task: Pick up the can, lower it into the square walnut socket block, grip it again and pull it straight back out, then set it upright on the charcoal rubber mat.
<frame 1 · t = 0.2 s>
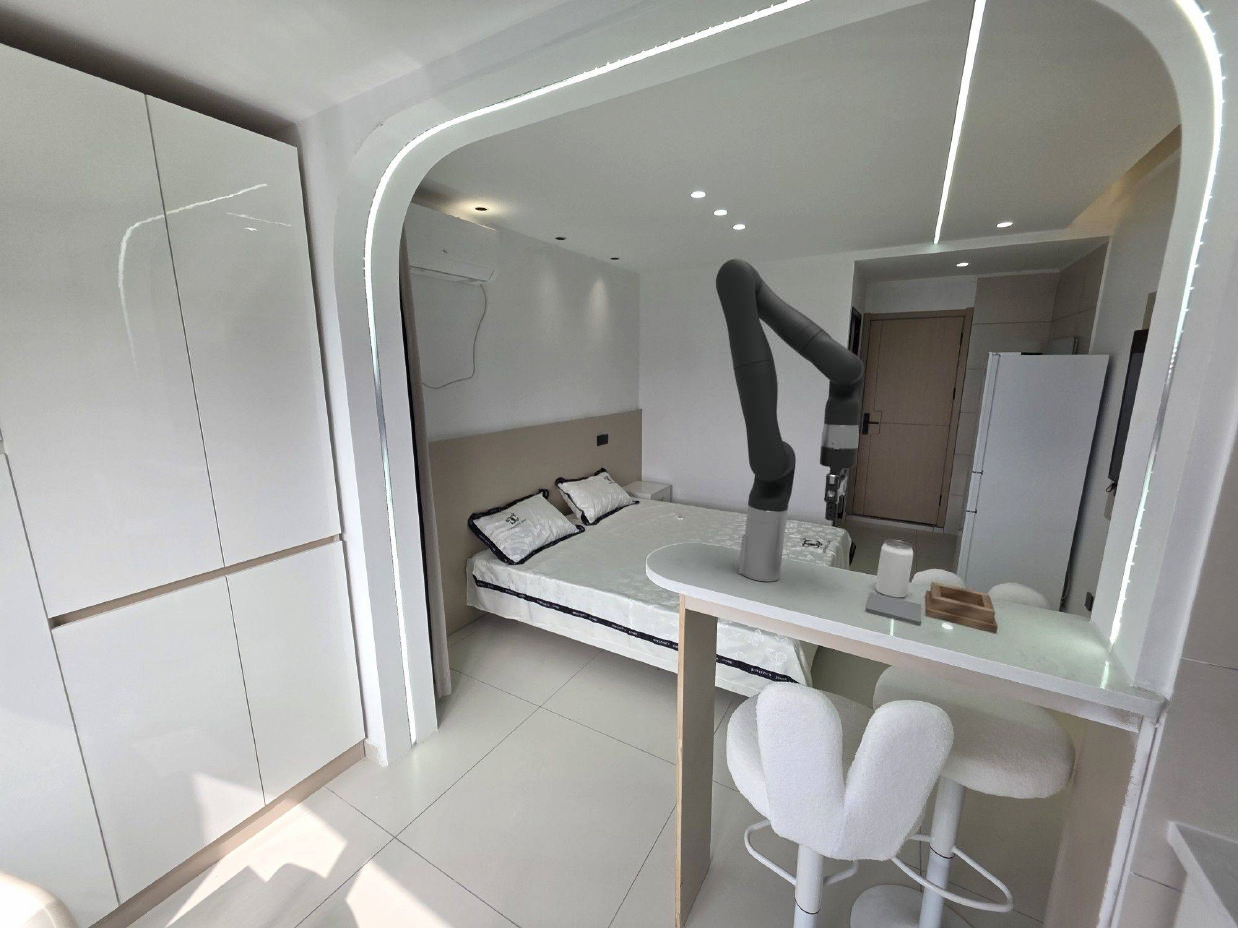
hand: (833, 516, 112), 18 cm above the table, tool pointing down, fingers open, 8 cm apart
mat: (893, 609, 106), on the table
can: (890, 593, 115), on the table
socket block: (958, 613, 106), on the table
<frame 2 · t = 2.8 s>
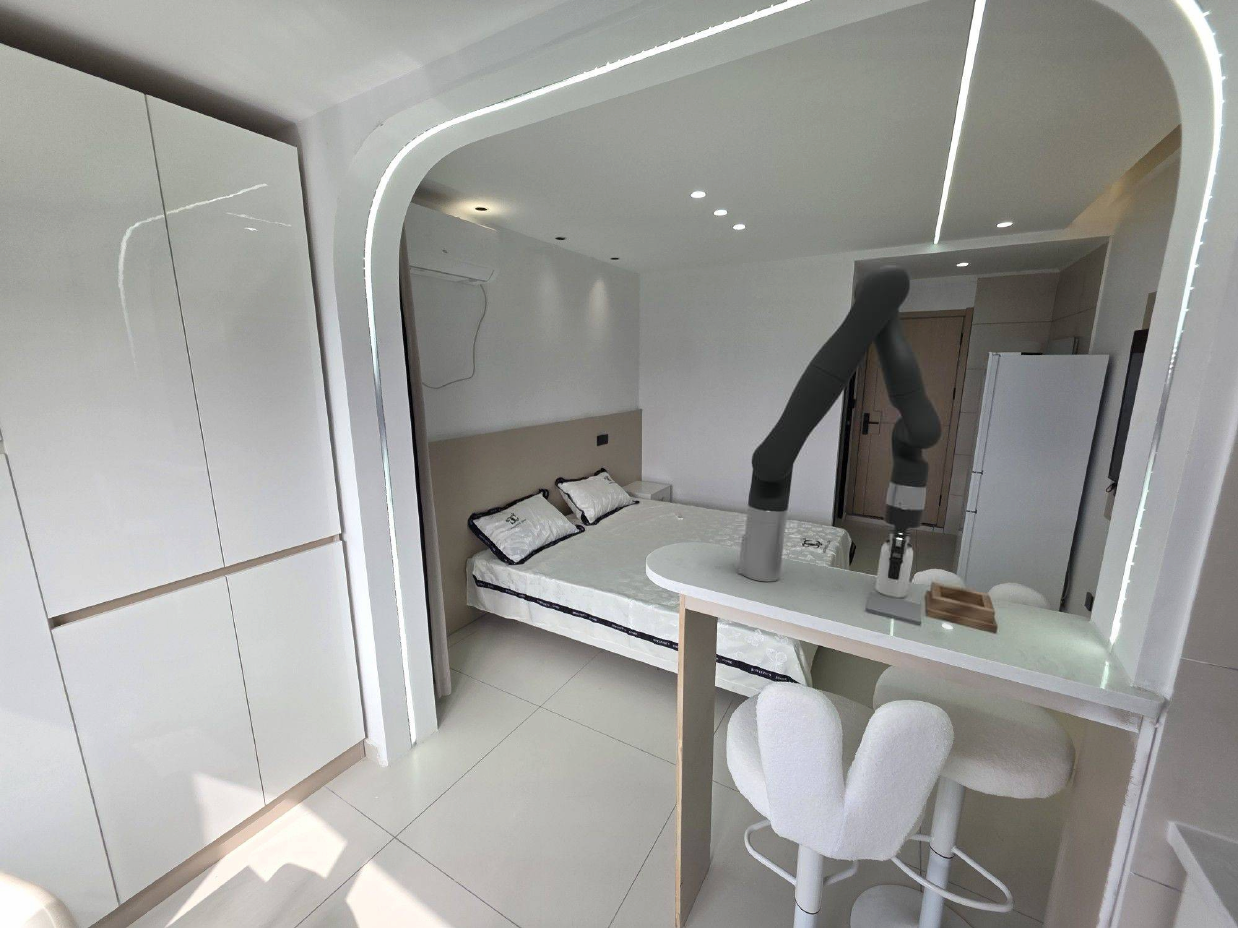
hand: (893, 573, 114), 5 cm above the table, tool pointing down, fingers closed on can, 6 cm apart
can: (890, 593, 115), on the table, touching gripper
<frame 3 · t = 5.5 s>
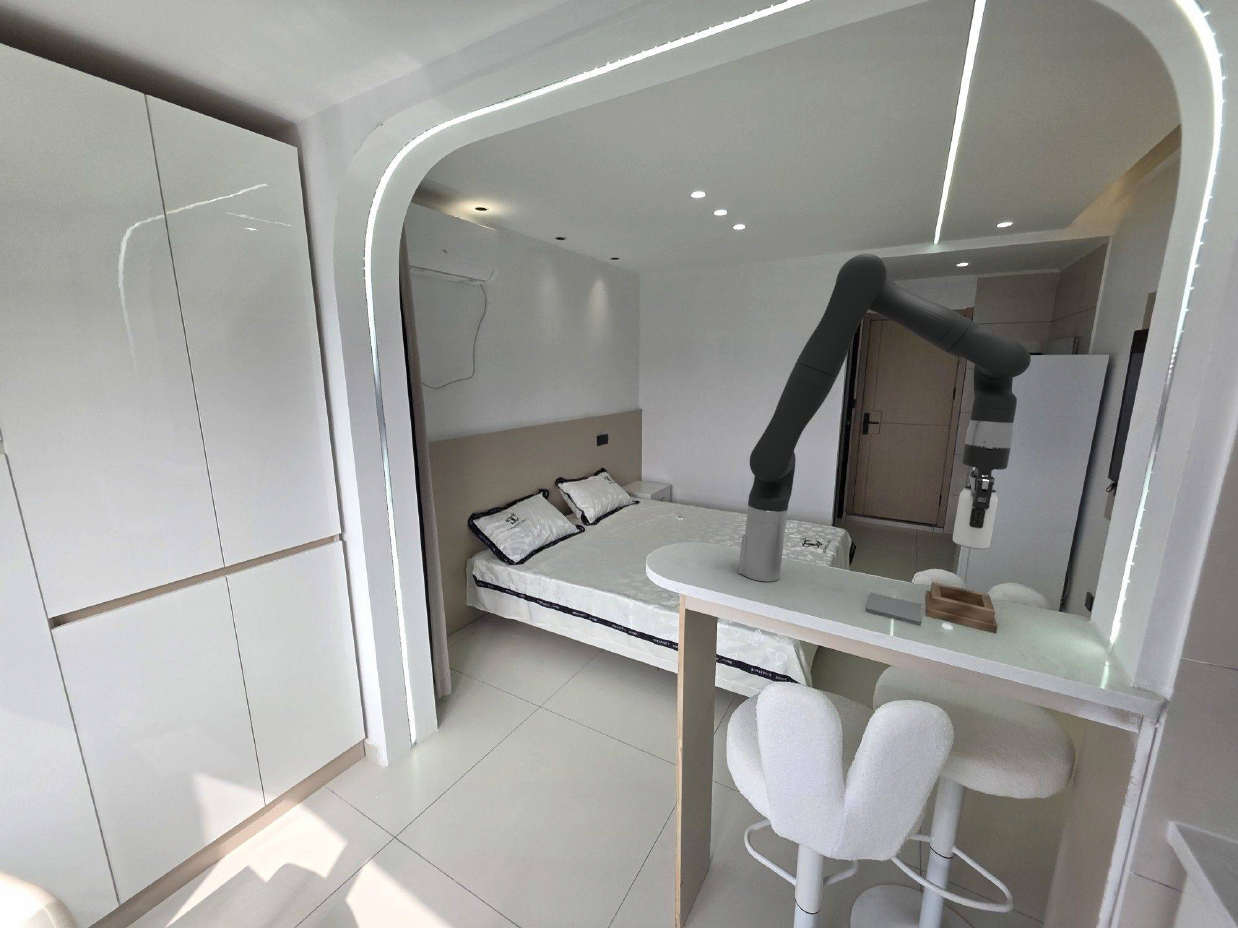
hand: (974, 523, 103), 20 cm above the table, tool pointing down, fingers closed on can, 6 cm apart
can: (970, 545, 104), point 15 cm above the table, touching gripper
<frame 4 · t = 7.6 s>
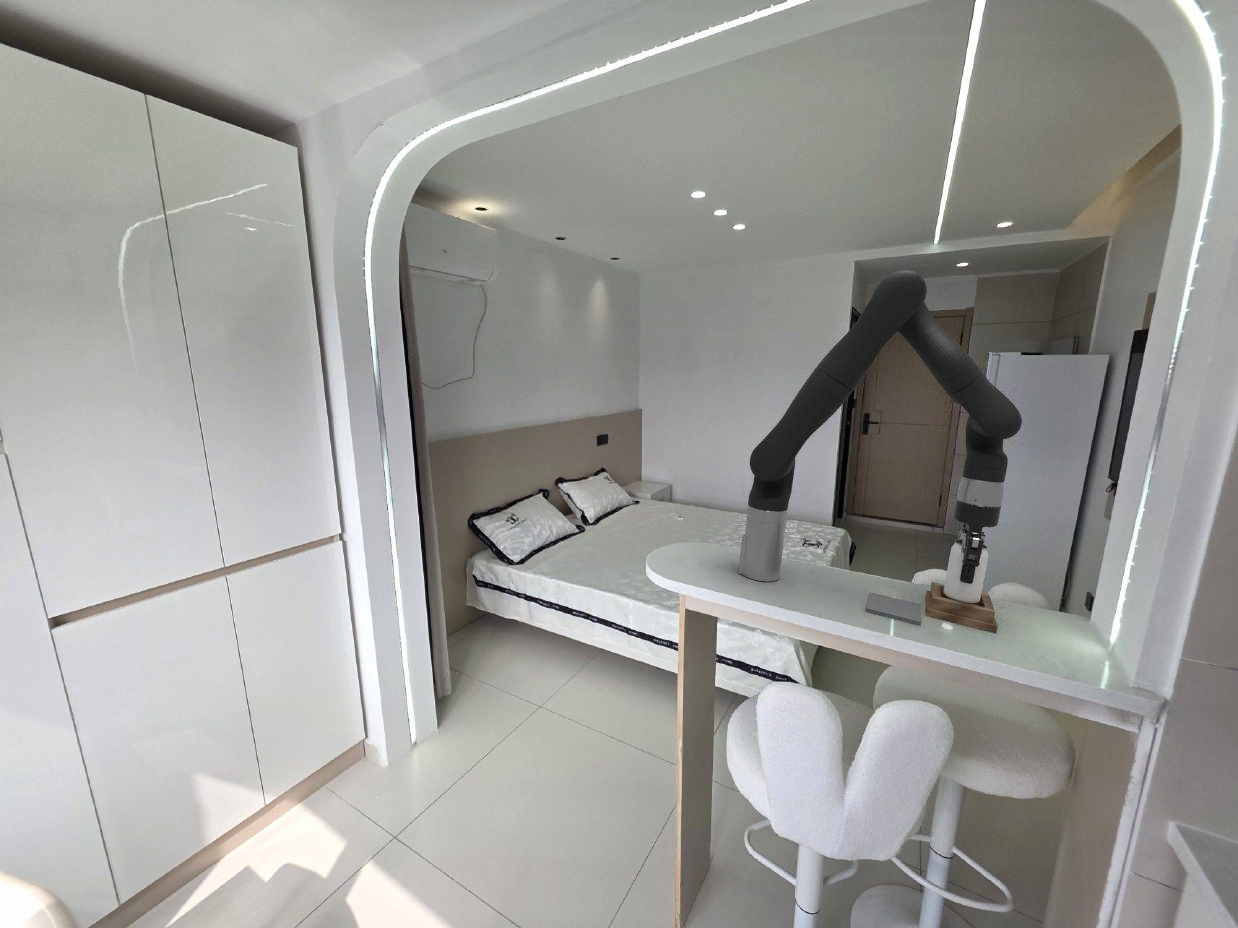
hand: (964, 577, 105), 8 cm above the table, tool pointing down, fingers closed on can, 6 cm apart
can: (960, 598, 106), point 3 cm above the table, touching gripper
when the fingers open (7 cm above the table, at t = 8.5 s): can stays where it is, resting on socket block.
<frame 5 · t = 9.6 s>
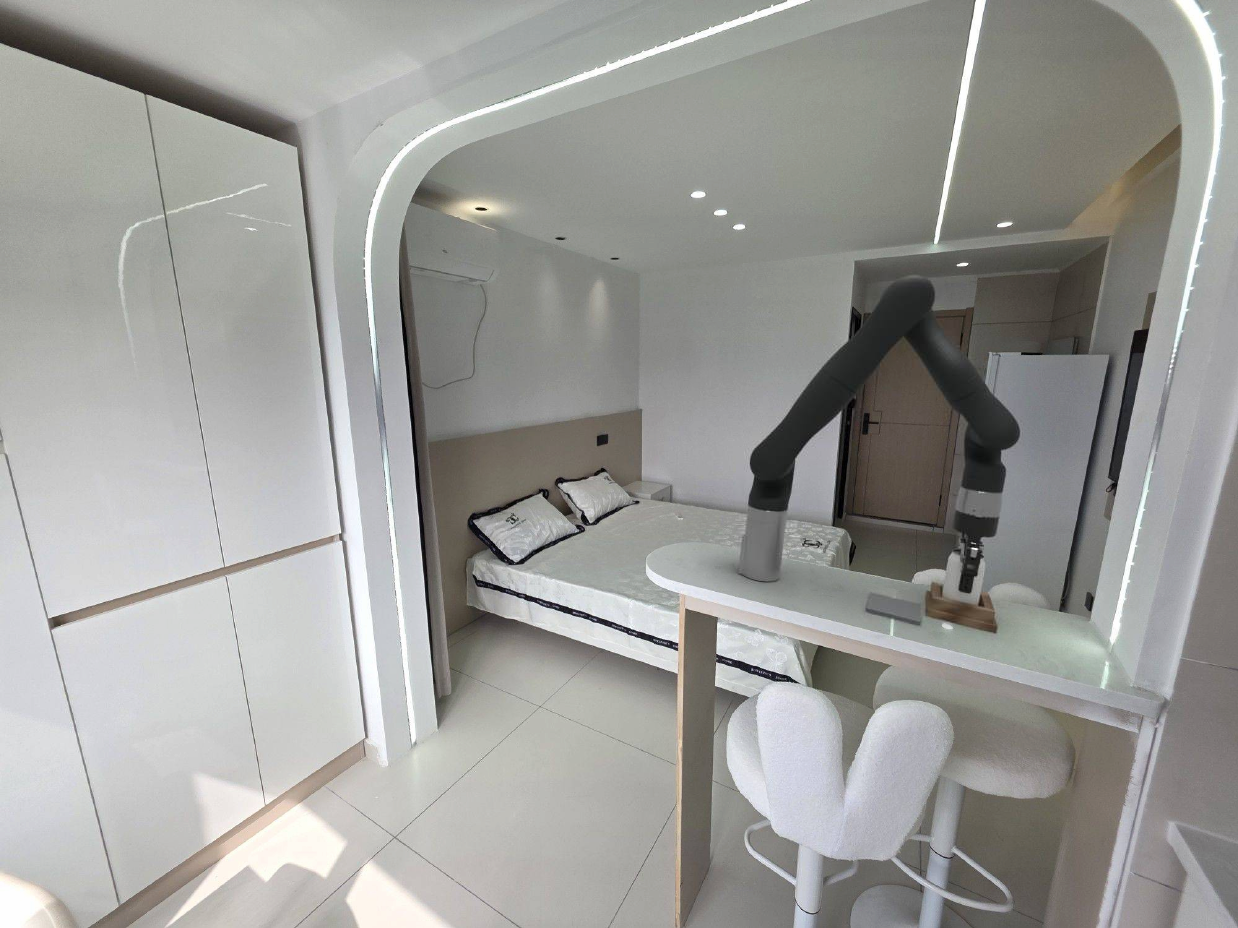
hand: (963, 586, 105), 6 cm above the table, tool pointing down, fingers open, 6 cm apart
can: (958, 607, 106), point 1 cm above the table, touching gripper, socket block
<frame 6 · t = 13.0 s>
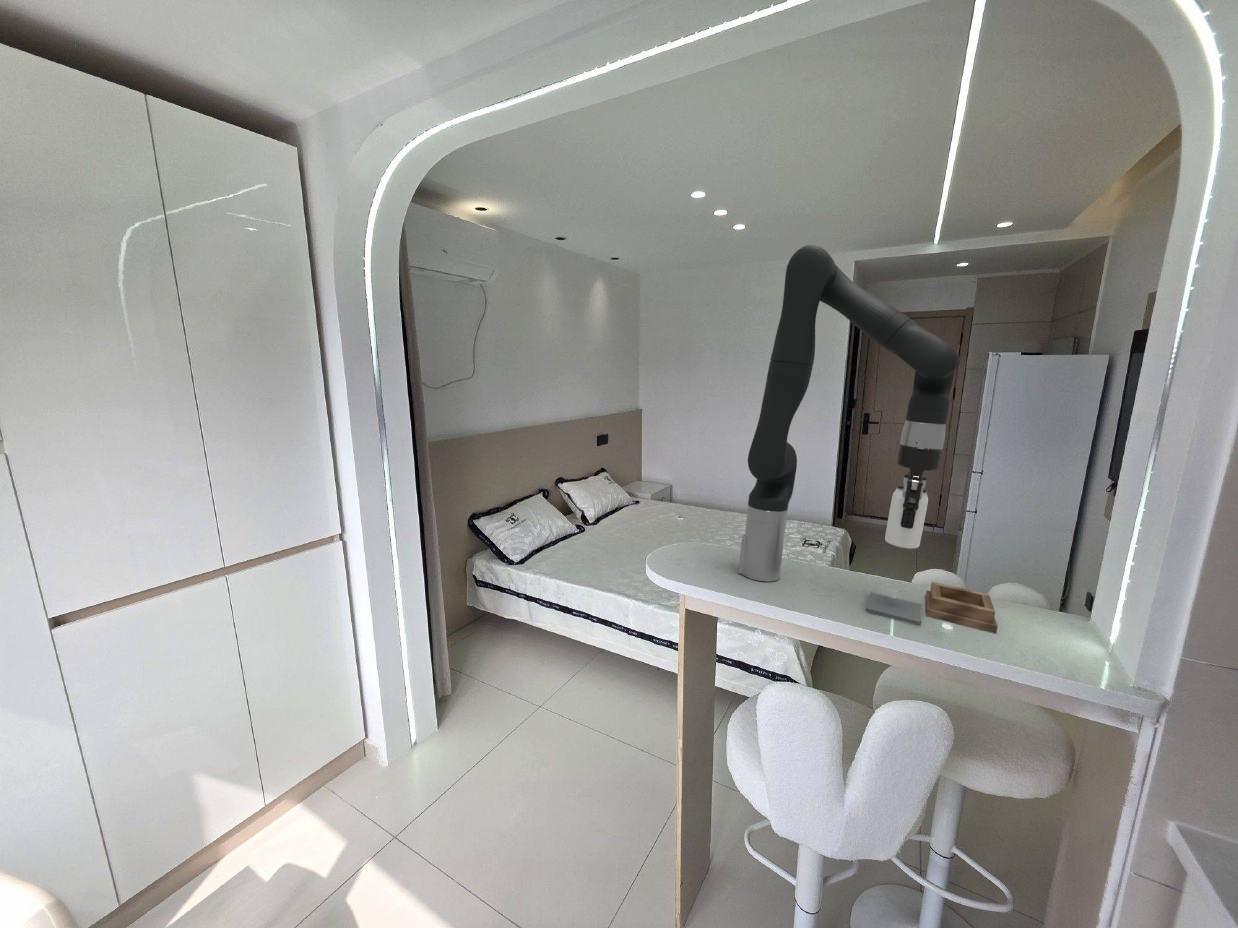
hand: (906, 523, 103), 19 cm above the table, tool pointing down, fingers closed on can, 6 cm apart
can: (901, 545, 104), point 14 cm above the table, touching gripper
when the fingers open (7 cm above the table, at t = 16.1 s): can drops 1 cm, resting on mat.
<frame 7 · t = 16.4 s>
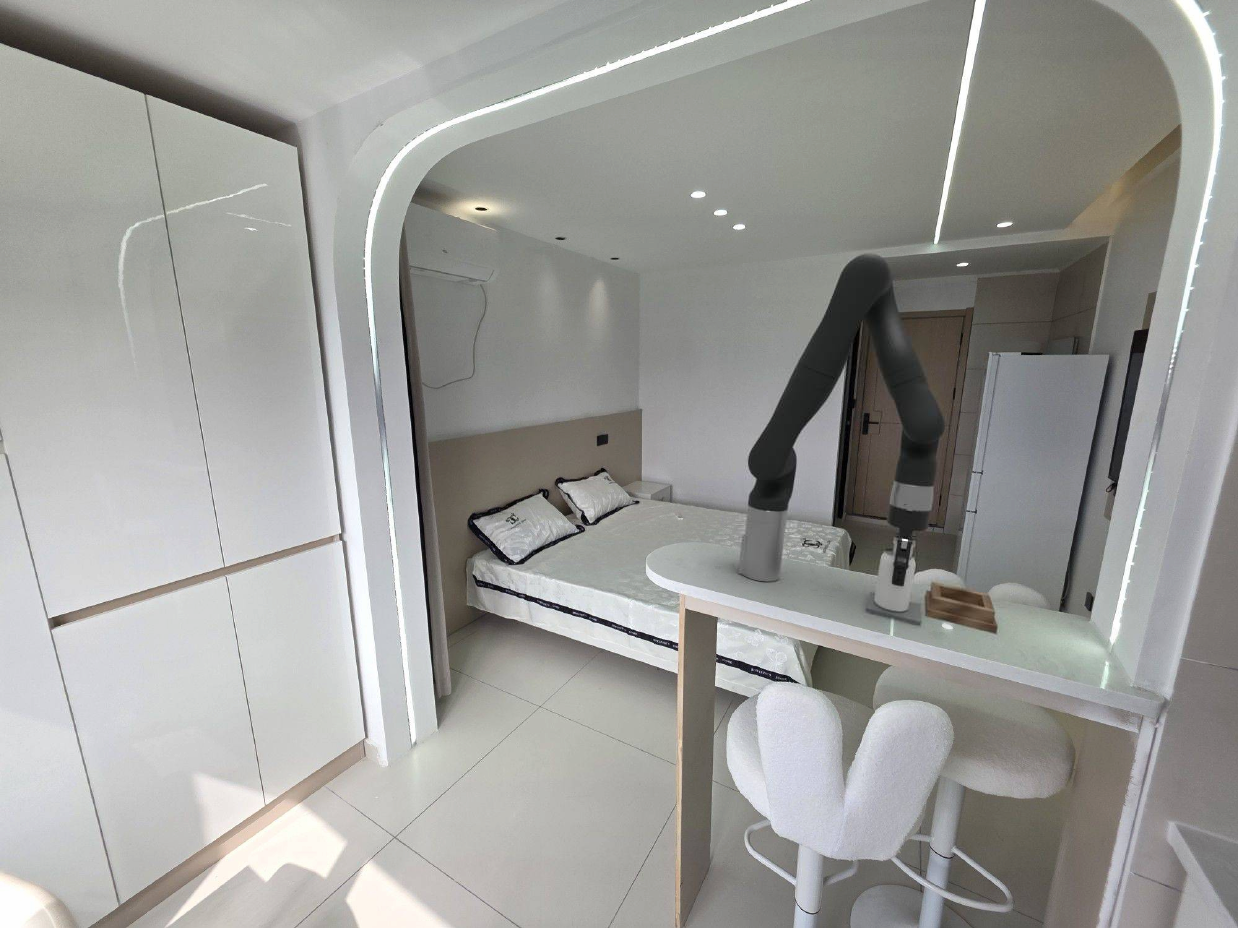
hand: (898, 578, 105), 7 cm above the table, tool pointing down, fingers open, 8 cm apart
can: (890, 606, 106), point 1 cm above the table, touching mat
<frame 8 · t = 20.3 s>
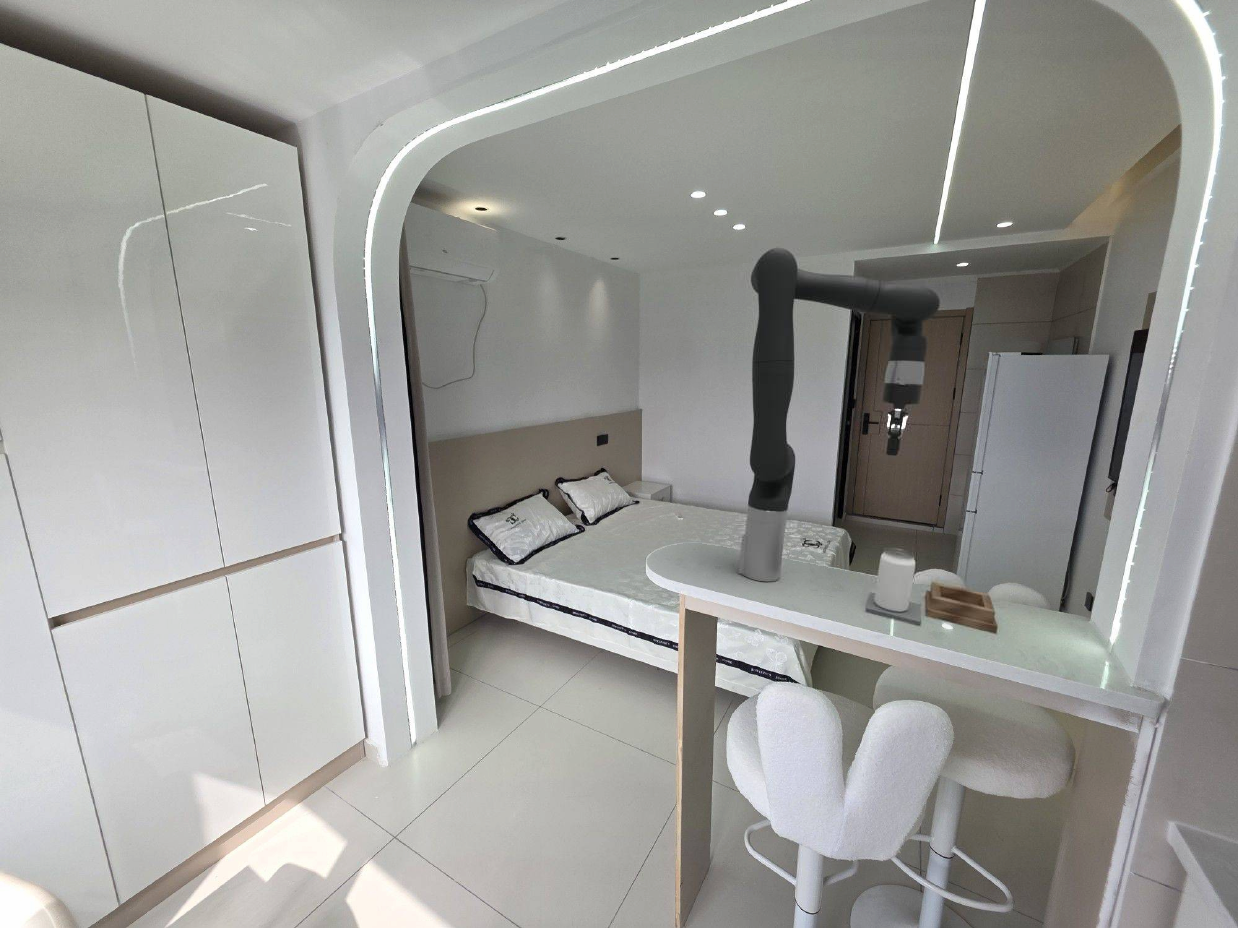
hand: (892, 453, 114), 32 cm above the table, tool pointing down, fingers open, 8 cm apart
nothing on the table moved.
at the end: can 0.7 cm off-centre on the mat, point 0.6 cm above the mat's base; can tilted 0°; the gripper is holding nothing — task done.
